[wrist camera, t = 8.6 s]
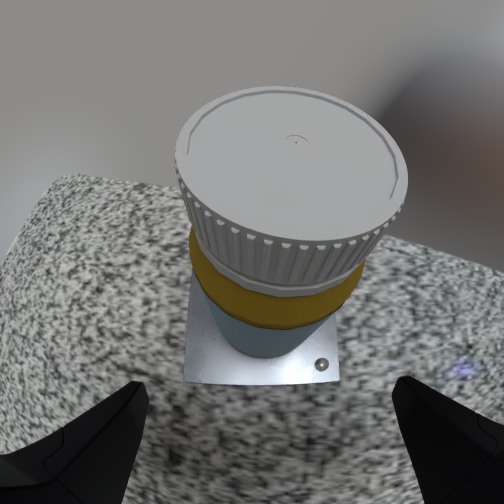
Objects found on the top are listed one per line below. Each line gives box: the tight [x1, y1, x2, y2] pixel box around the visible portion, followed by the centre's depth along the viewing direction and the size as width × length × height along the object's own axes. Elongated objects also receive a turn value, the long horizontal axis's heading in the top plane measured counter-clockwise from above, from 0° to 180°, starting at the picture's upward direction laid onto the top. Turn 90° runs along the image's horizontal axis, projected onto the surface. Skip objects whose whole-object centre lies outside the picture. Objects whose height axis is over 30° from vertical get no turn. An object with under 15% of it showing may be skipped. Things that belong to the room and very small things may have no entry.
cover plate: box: [184, 267, 340, 385], centre depth 20 cm, size 11×11×1 cm
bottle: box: [174, 86, 408, 358], centre depth 13 cm, size 7×7×15 cm
